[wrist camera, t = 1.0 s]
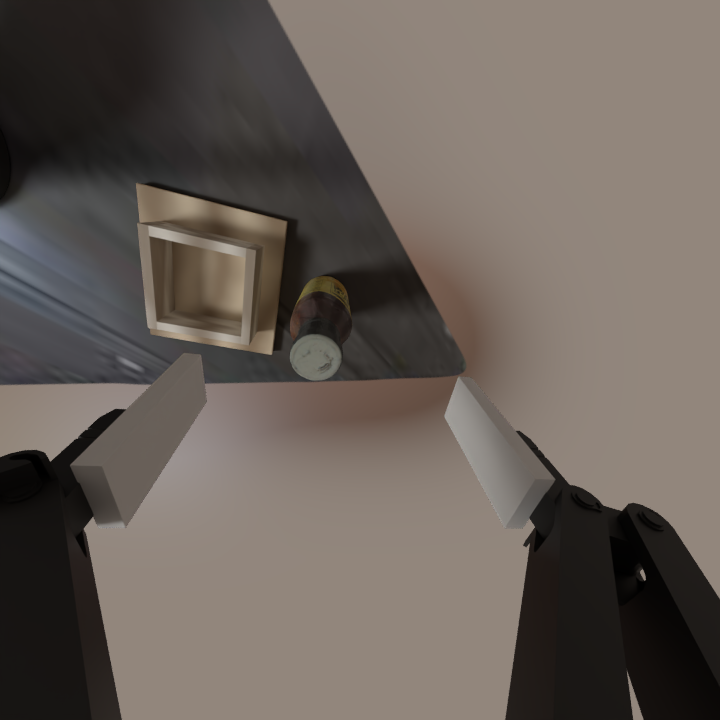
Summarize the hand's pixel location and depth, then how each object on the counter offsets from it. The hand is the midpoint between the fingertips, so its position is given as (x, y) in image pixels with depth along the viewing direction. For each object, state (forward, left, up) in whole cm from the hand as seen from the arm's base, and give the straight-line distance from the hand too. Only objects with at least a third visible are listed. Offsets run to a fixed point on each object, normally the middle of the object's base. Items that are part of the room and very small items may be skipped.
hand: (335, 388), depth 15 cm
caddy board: (-15, -4, -27) cm, 31 cm away
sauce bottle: (-1, -3, -27) cm, 27 cm away
